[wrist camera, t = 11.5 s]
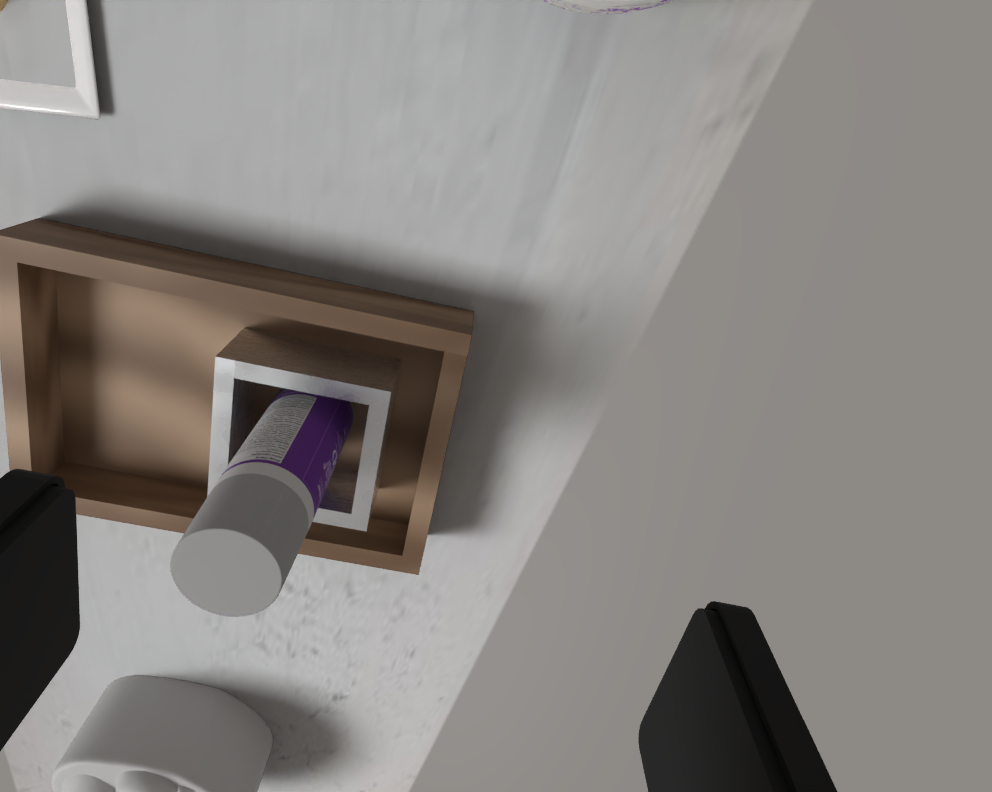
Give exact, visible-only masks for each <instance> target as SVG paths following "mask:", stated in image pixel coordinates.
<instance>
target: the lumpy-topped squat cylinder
mask: <svg viewBox="0 0 992 792" xmlns="http://www.w3.org/2000/svg"><path fill="white" fill-rule="evenodd" d="M272 746H273V736H272V733H271V731H270V729H269V727H268V726H267V724H266V723H265V722H264V721H263V719H262V718H261V717H260V716H259V715H258V714H257V713H256V712H255V711H254V710H253V709H251V708H250V707H248V706H247V705H245V704H244V703H242V702H241V701H239V700H238V699H236V698H234V697H233V696H231V695H229V694H228V693H226V692H224V691H222V690H220V689H217V688H214V687H210V686H206V685H202V684H198V683H193V682H188V681H183V680H177V679H171V678H162V677H154V676H144V675H133V676H126V677H122V678H119V679H116V680H114V681H113V682H111V683H110V684H109V685H108V686H107V688H106V689H105V691H104V692H103V694H102V695H101V697H100V699H99V700H98V702H97V703H96V705H95V706H94V708H93V709H92V711H91V713H90V714H89V716H88V717H87V719H86V720H85V722H84V724H83V725H82V727H81V728H80V730H79V731H78V733H77V735H76V736H75V738H74V739H73V741H72V742H71V744H70V746H69V747H68V749H67V751H66V752H65V754H64V756H63V757H62V759H61V760H60V762H59V763H58V765H57V766H56V768H55V770H54V772H53V774H52V788H53V791H54V792H257V791H258V788H259V785H260V782H261V779H262V776H263V773H264V770H265V767H266V764H267V761H268V758H269V755H270V752H271V749H272Z"/></svg>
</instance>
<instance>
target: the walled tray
mask: <svg viewBox="0 0 992 792" xmlns="http://www.w3.org/2000/svg"><path fill="white" fill-rule="evenodd" d="M473 317H474V311H469V310H465V309H460V308H455V307H451V306H446V305H441V304H437V303H432V302H428V301H423V300H418V299H414V298H409V297H404V296H400V295H395V294H390V293H386V292H381V291H376V290H372V289H367V288H362V287H358V286H353V285H348V284H344V283H339V282H335V281H330V280H325V279H321V278H316V277H311V276H307V275H302V274H297V273H293V272H288V271H283V270H279V269H274V268H269V267H265V266H260V265H255V264H251V263H246V262H241V261H237V260H232V259H228V258H223V257H218V256H214V255H209V254H204V253H200V252H195V251H190V250H186V249H181V248H176V247H172V246H167V245H162V244H158V243H153V242H148V241H144V240H139V239H135V238H130V237H125V236H121V235H116V234H111V233H107V232H102V231H97V230H93V229H88V228H83V227H79V226H74V225H69V224H65V223H60V222H55V221H51V220H46V219H41V218H38V219H34V220H31V221H28V222H25V223H21V224H18V225H15V226H12V227H8V228H5V229H2V230H0V360H1V372H2V384H3V396H4V407H5V419H6V431H7V443H8V455H9V467H10V471H11V470H13V469H23V470H28V471H34V472H39V473H44V474H49V475H55V476H59V477H61V478H62V479H63V481H64V483H65V488H67V489H71V490H73V491H74V493H75V498H76V514H78V515H84V516H89V517H95V518H101V519H106V520H112V521H118V522H123V523H129V524H135V525H140V526H146V527H151V528H157V529H163V530H168V531H174V532H180V533H185V532H186V530H187V529H188V527H189V525H190V524H191V522H192V521H193V519H194V518H195V516H196V514H197V513H198V511H199V510H200V508H201V506H202V505H203V503H204V502H205V500H206V498H207V493H208V476H209V458H210V441H211V423H212V405H213V388H214V370H215V356H216V355H217V354H218V353H219V352H220V351H221V350H222V349H223V348H224V347H225V346H226V345H227V344H228V343H229V342H230V341H231V340H232V339H233V338H234V337H235V336H236V335H237V334H238V333H239V332H240V331H241V330H242V329H244V328H245V327H246V328H251V329H256V330H260V331H265V332H270V333H275V334H280V335H285V336H290V337H294V338H299V339H304V340H309V341H314V342H319V343H323V344H328V345H333V346H338V347H343V348H348V349H353V350H357V351H362V352H367V353H372V354H377V355H382V356H386V357H391V358H396V359H401V360H402V362H401V367H400V373H399V379H398V384H397V390H396V395H395V401H394V406H393V412H392V417H391V423H390V429H389V434H388V440H387V445H386V451H385V456H384V462H383V467H382V473H381V479H380V484H379V489H378V493H377V496H376V500H375V503H374V507H373V510H372V514H371V517H370V521H369V524H368V528H367V531H361V530H355V529H350V528H344V527H339V526H333V525H328V524H322V523H317V522H312V524H311V526H310V528H309V530H308V532H307V534H306V536H305V539H304V541H303V543H302V545H301V547H300V550H299V552H298V554H304V555H309V556H315V557H320V558H326V559H332V560H337V561H343V562H349V563H354V564H360V565H366V566H371V567H377V568H382V569H388V570H394V571H399V572H405V573H411V574H416V575H419V570H420V566H421V561H422V557H423V552H424V548H425V543H426V539H427V534H428V530H429V525H430V521H431V516H432V512H433V507H434V503H435V498H436V494H437V489H438V485H439V480H440V476H441V472H442V467H443V463H444V458H445V454H446V449H447V445H448V440H449V436H450V431H451V427H452V422H453V418H454V413H455V409H456V404H457V400H458V395H459V391H460V386H461V382H462V377H463V373H464V368H465V364H466V359H467V355H468V350H469V346H470V341H471V337H472V328H473ZM281 389H282V388H281V387H276V386H271V385H266V384H260V383H258V389H257V401H256V412H255V424H254V427H255V426H256V424H257V423H258V421H259V420H260V418H261V417H262V416H263V414H264V413H265V411H266V410H267V408H268V407H269V405H270V404H271V403H272V401H273V400H274V398H275V397H276V395H277V394H278V392H279V391H280V390H281ZM352 403H353V407H354V419H353V423H352V426H351V429H350V431H349V434H348V436H347V438H346V441H345V443H344V446H343V448H342V451H341V453H340V456H339V458H338V460H337V463H336V465H335V467H339V468H344V469H349V470H354V471H359V465H360V458H361V452H362V446H363V440H364V434H365V428H366V422H367V416H368V409H369V405H366V404H361V403H356V402H352Z"/></svg>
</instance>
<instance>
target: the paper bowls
mask: <svg viewBox="0 0 992 792" xmlns="http://www.w3.org/2000/svg"><path fill="white" fill-rule="evenodd" d="M542 1H545V2H548V3H550V4H552V5H555V6H557V7H561V8H563V9H568V10H570V11H578V12H583V13H591V14H618V13H627V12H634V11H638V10H643V9H646V8H651V7H655V6H658V5H661V4H663V3H666V2H669V1H671V0H542Z"/></svg>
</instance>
